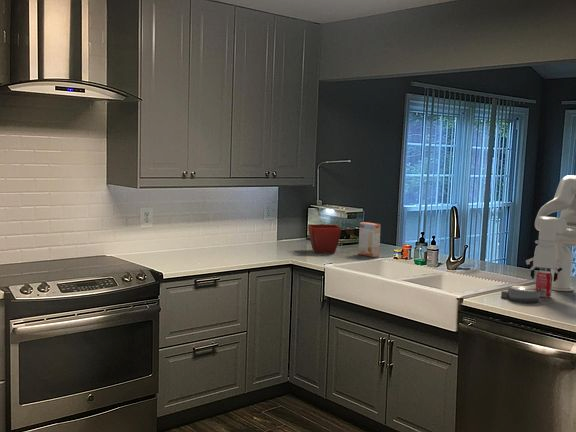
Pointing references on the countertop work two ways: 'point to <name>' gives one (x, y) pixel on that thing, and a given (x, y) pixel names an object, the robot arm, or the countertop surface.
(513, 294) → the motor housing
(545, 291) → the soda can
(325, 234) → the plant pot
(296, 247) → the countertop surface
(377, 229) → the cracker box
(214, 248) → the countertop surface
